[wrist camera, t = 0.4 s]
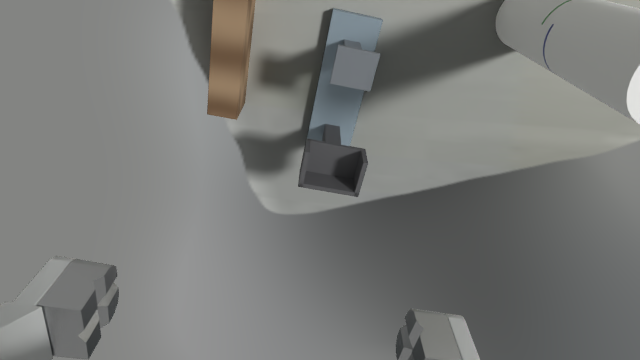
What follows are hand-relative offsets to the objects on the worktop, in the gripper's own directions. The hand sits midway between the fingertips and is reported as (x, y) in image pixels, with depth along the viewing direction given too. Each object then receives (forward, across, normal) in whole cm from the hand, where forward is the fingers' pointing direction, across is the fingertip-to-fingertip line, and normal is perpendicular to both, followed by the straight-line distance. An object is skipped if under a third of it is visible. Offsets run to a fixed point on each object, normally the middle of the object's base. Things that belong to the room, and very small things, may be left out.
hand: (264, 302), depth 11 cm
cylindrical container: (+44, -25, -6) cm, 51 cm away
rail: (+44, +9, +4) cm, 45 cm away
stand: (+44, -5, +7) cm, 45 cm away
